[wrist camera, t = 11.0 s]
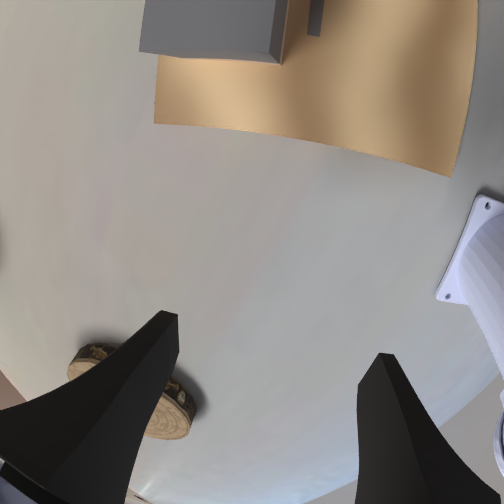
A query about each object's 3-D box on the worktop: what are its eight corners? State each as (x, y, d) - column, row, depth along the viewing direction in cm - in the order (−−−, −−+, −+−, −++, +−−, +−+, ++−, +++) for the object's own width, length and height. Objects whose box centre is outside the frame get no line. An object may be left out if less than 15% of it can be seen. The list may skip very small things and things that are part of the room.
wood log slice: (137, 421, 38) (130, 437, 35) (59, 351, 32) (48, 367, 29) (223, 419, 32) (218, 440, 29) (131, 329, 26) (117, 352, 23)
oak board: (463, -44, 7) (474, -51, 5) (440, 170, 14) (451, 178, 13) (197, -91, 8) (188, -102, 7) (165, 120, 16) (153, 123, 14)
